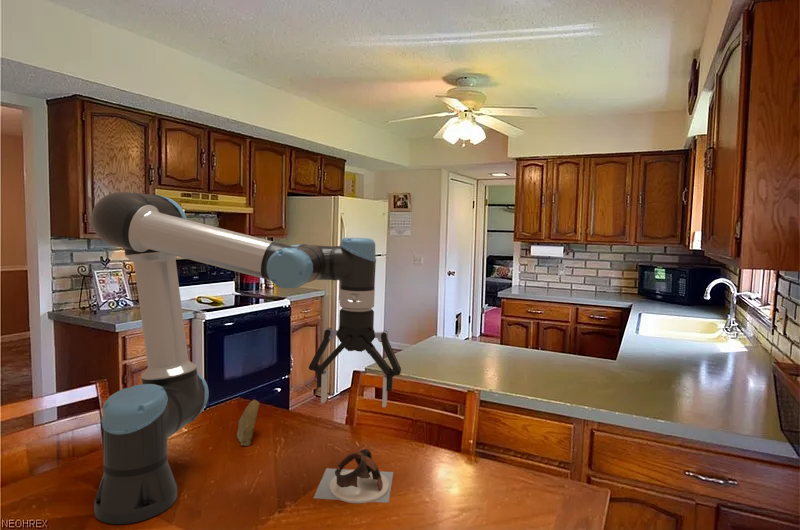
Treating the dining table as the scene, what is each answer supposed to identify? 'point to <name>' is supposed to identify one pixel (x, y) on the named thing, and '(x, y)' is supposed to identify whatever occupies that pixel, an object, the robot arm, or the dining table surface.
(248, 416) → the rock
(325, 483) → the felt placemat
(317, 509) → the dining table surface
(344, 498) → the cream round plate
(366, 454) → the broken terracotta ring
